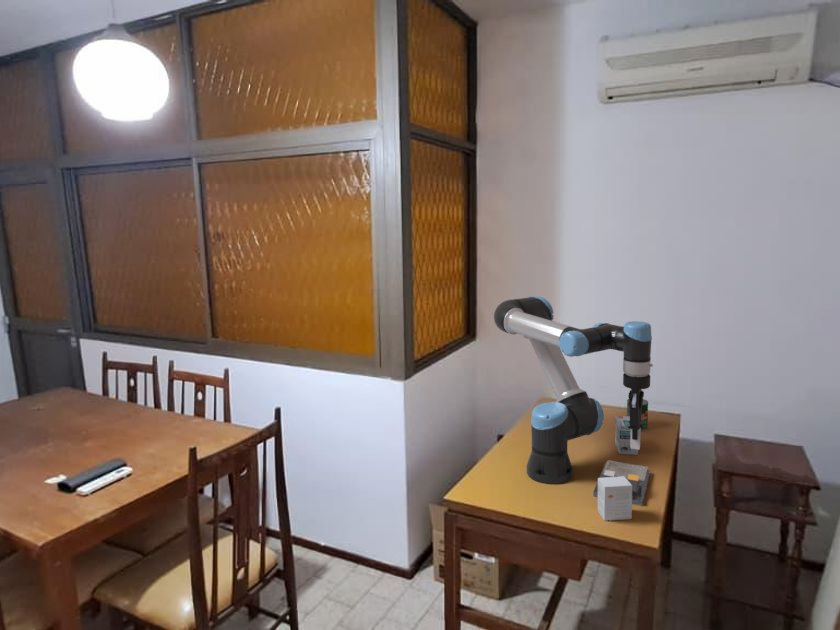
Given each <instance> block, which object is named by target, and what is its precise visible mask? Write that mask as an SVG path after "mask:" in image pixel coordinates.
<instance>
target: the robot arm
mask: <svg viewBox="0 0 840 630" xmlns="http://www.w3.org/2000/svg"><path fill="white" fill-rule="evenodd" d="M493 319H494V324H495V325H496V327H497V328H498V329H499V330H501V331H502V332H504V333H506V334H508V335H514V336H515V335H517V334H518V335H522V337H523V338H525V339H527V340H529V342H530V343H531V346H532V348H533V350H534V352H535V354H536V357H537V360H539V361H538V362H539V363H540V366H541V367H542V369H543V371H544V373H545V376H546V378H547V380H548V382H549V385H550V387H551V389H552V390H553V394H554V396H555V398H556V400H555V401H552V402H549V401H547V402H542V403H540V404H538V405H536V406H535V407H534V408H533V409H532V411H531V419H530V426H531V427H530V428H531V451H530V454H529V456H528V461H527V463H526V475H527V474H528V475H527V476H528V477H529V478H530V479H532V480H534V481H536V482H538V483H543V484H552V485H554V484H555V485H556V484H562V483H563V484H564V483H566V482H568V481H570V480H571V479H572V478H573V476H574V475H573V473H574V470H573V465H572V462H571V459H570V455H569V454H568V442H569V441H571V440H575V439H577V438H581V437H585V436H589V435H592V434H594V433H596V432H598V431H600V430H601V428H602V427H603V424H604V421H605V414H604V410H603V406H602V405H601V402H599V401H598V400H596V398H592V397H589V395H588V393H587V391H586V390H583V389H581V388H580V386H579V385H578V383H577V381H576V379H575V376H574V374H573V372H572V370H571V368H570V366H569V363H568V362H567V360H566V358H565V356H567V357H569V358H570V357H571V358H572V357H580V356H583V355H588V354H592V353H597V352H602V351H607V350H615V351H618V352H622V353H623V361H622V363H623V365H622V371H623V373H622V374H623V375H622V381H623V382H622V383H623V384H622V385H623V386H624V387H625V388H627V389H628V388H629V389H630V390H629V392H628V399H629V407H630V426H628V428H629V429H630V448H631V449H638V451H640V450H641V434H642V433H641V428H640V427H643V424H641V422H642V420H641V415H642V404H643V399H644V397H645V391H643V390H646V389H649V388H650V387H651V375H650V374H651V368H652V367H653V366H654V365H653V363H651V361H652V360H651V353H652V352H651V351H652V340H653V338H652V337H653V336H652V325H651V324H650V323H649V322H647V321H638V320H637V321H636V320H634V321H626V322H625V323H624V324H623V325H622V326H621V325H617V324H611V323H610V322H609V323H606V322H605V323H602V322H597V323H596V324H594V325H593V326H592V327H589V328H577V327H573V326H571V325H568V324H563V323H560V322H556V321H553V320H554V309H553V307H552V304H551V303H550V302H549V300H547V299H546V298H544V297H542V296H527V297H521V298H516V299H515V298H514V299H507V300H504V301H502V302H500V303H499V304H498V306H497V307H496V308H495V310H494V313H493Z"/></svg>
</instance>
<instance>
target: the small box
mask: <svg viewBox="0 0 840 630" xmlns="http://www.w3.org/2000/svg"><path fill="white" fill-rule="evenodd" d="M597 482H598V497H597V512H598V513H599V514H600V517H601V518H602V519H603V521H604V522H605V521H608V520H609V521H619V520H631V519H632V517H633V512H632V510H633V508H632V507H633V504H632V485H631V484H630V482H629V481H628V480H627V479H626V478H625V477H624V476H620V477H605V478H599V477H597Z"/></svg>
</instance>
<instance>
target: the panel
mask: <svg viewBox="0 0 840 630" xmlns="http://www.w3.org/2000/svg"><path fill="white" fill-rule="evenodd" d="M648 467H649V466H646V465H645V466H644V465H639V464H633V463H628V462H627V463H626V462H621V461H614V460H611V459H607V461H606V462H605V463H604V466H603V468H602V470H601V473H600V475H599V477H598V478H603V477H604V473H605V470H609V471H615V477H620V476H624V477H625V478H626V479H627V480H628V475H629V474H632V475H637V476H639V484H638V489H637V495H636V496H634V495H632V505H636V506H639V507H643V505H644V500H645V497H646V492H647V489H646V488H647V487H648V483H649V479H650V475H651V470H650V469H649V468H648ZM592 495H593V497H596V498H598V481H597V482H596V485H595V487H594V490H593V494H592Z"/></svg>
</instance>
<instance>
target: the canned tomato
mask: <svg viewBox="0 0 840 630" xmlns="http://www.w3.org/2000/svg"><path fill="white" fill-rule="evenodd" d="M626 401H627V403H626V416H629V417H630V407H629V398H628V399H627V400H626ZM648 415H649V401H648V400H647V399H646V398H645V399H644V398H643V404H642V415H641V420H642V422H641V424H643V427H640V428H641V431H642V430H644V431H646V430H647V429H648V428H649V427H648V423H649V422H648V420H649V419H648V417H649V416H648Z"/></svg>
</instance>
